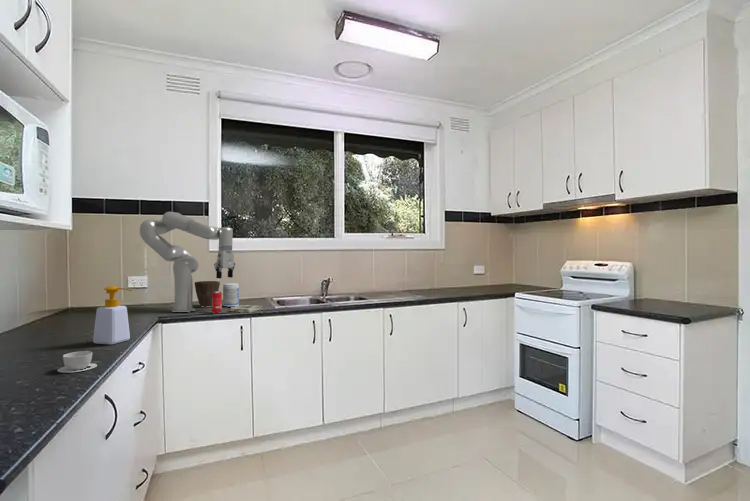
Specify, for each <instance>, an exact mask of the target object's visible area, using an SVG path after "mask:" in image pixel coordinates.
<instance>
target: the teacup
mask: <svg viewBox="0 0 750 501" xmlns="http://www.w3.org/2000/svg"><path fill="white" fill-rule="evenodd" d="M92 359H93V351H89V350H86V351H85V350H84V351H74V352H68V353H65V354H63V355H62V360H63V365H64V366H62V367H60V368H58V369H57V372H58V373H64V374H65V373H66V374H67V373H68V374H69V373H79V372H83V371H89V370H92V369H95V368H97V366H98V364H97V363H94V362H93V363H91V362H92ZM87 366H91V367H90V368H86V367H87ZM84 368H86V369H84ZM80 369H83V370H80ZM73 370H76V371H73Z"/></svg>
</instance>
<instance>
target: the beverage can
mask: <svg viewBox="0 0 750 501" xmlns="http://www.w3.org/2000/svg"><path fill="white" fill-rule="evenodd" d="M222 307H223V292H222V291H218V292H213V293H212V307H211V312H212V313H213V312H214V313H213V314H215V313H217V312H221V313H222V309H223V308H222ZM217 314H218V313H217Z"/></svg>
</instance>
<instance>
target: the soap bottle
mask: <svg viewBox="0 0 750 501" xmlns="http://www.w3.org/2000/svg"><path fill="white" fill-rule="evenodd" d="M103 290H104V291H105V292H106V294H109V298H108V299H107V298H105V299H104V306H100V307H97V308H96V313H95V318H94V319H95V321H94V327H93V328H94V329H93V338H92V342H93V343H94V344H97V345H109V346H110V345H115V344H119V343H124V342H126V341H129V340H130V339H131V334H130V326H129V316H128V314H129V313H128V307H127V306H126V305H120V304H119V303H120V299H119V298H115V294H118V293H119V292H118V291H119V290H125V291H129V292H132V291H133V289H129V288H126V287H125V288H124V287H119V286H115V285H110V286H107V287H104V289H103Z"/></svg>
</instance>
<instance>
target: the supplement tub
mask: <svg viewBox="0 0 750 501" xmlns="http://www.w3.org/2000/svg"><path fill="white" fill-rule="evenodd" d="M223 306H240V286H239V283H238V282H237V283H235V282H234V283H223V285H222V307H223Z"/></svg>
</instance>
